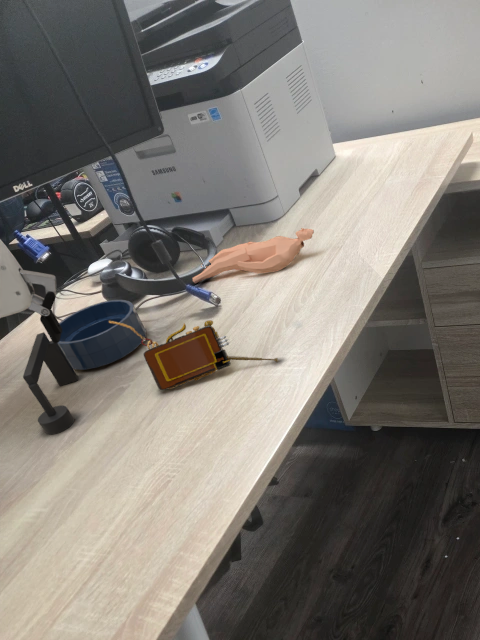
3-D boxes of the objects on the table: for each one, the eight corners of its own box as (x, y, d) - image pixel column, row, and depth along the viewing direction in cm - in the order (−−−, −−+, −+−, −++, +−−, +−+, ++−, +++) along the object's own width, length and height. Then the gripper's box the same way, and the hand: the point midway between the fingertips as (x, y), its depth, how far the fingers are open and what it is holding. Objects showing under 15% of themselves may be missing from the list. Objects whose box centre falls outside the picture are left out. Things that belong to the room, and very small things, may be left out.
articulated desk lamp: (72, 428, 94) (39, 378, 88) (43, 438, 94) (8, 388, 88) (82, 375, 106) (54, 328, 101) (56, 384, 106) (26, 337, 100)
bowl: (63, 382, 106) (44, 352, 102) (72, 344, 117) (55, 316, 113) (147, 355, 107) (131, 325, 103) (148, 320, 117) (134, 291, 114)
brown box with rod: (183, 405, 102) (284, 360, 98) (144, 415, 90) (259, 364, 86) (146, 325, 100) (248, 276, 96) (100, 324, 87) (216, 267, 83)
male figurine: (198, 249, 129) (315, 214, 123) (210, 272, 133) (324, 239, 126) (183, 272, 122) (306, 236, 115) (195, 296, 125) (316, 263, 118)
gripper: (-127, 259, 79) (-40, 379, 90) (13, 219, 80) (81, 342, 92) (-108, 240, 85) (-29, 354, 96) (22, 202, 86) (86, 320, 97)
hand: (25, 348), depth 94 cm, fingers open, 9 cm apart
